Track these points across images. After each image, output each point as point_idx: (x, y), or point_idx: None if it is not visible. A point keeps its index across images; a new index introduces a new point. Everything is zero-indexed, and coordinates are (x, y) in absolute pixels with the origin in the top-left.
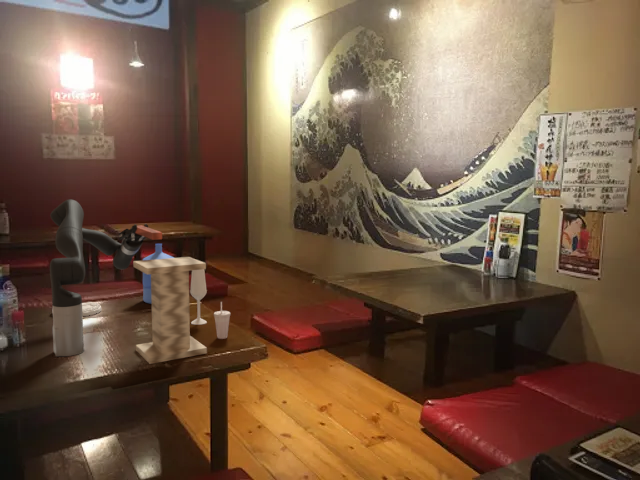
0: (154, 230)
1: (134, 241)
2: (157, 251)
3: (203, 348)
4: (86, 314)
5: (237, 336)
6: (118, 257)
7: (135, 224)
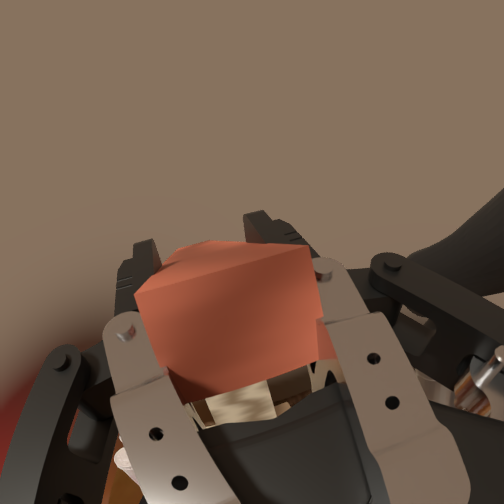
0: (182, 249)
1: None
2: None
3: (206, 427)
4: None
5: (128, 482)
6: None
7: (252, 213)
